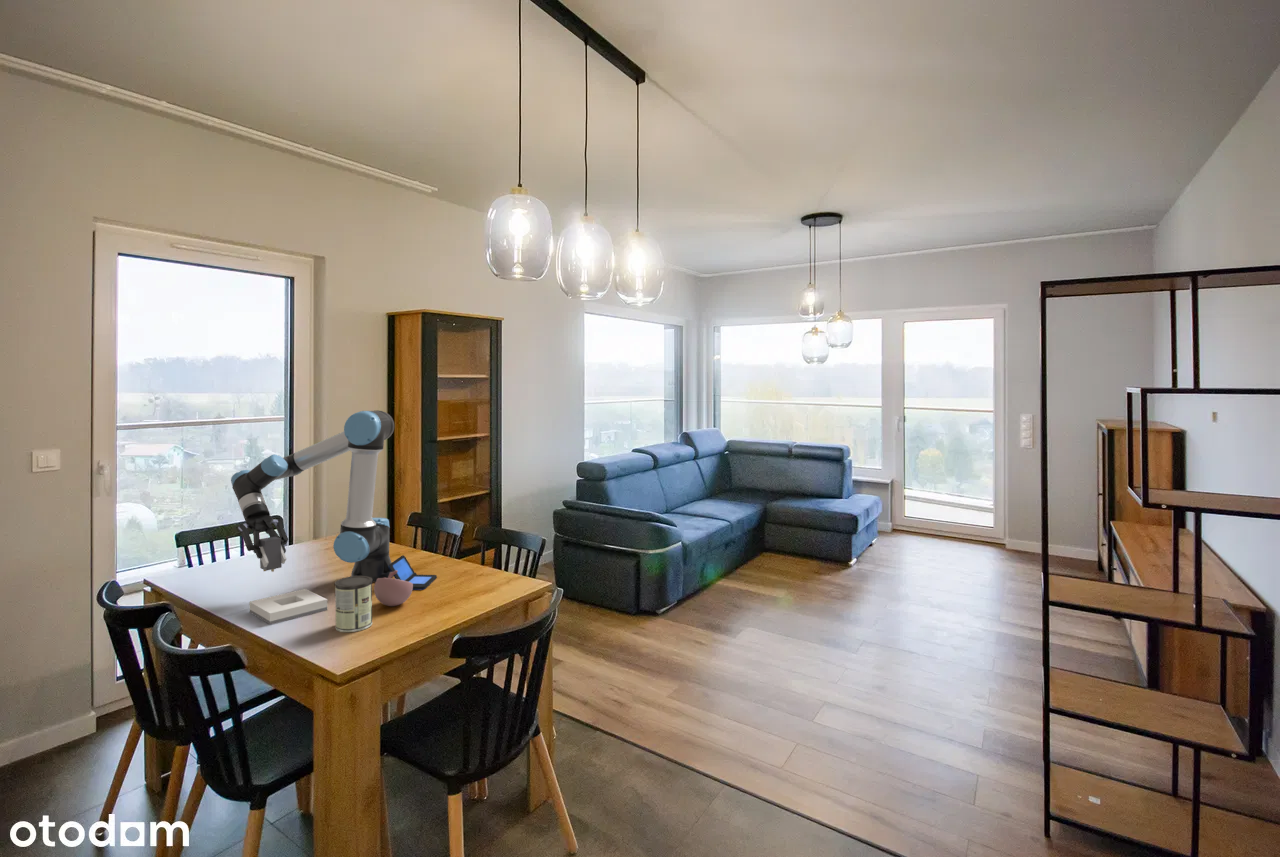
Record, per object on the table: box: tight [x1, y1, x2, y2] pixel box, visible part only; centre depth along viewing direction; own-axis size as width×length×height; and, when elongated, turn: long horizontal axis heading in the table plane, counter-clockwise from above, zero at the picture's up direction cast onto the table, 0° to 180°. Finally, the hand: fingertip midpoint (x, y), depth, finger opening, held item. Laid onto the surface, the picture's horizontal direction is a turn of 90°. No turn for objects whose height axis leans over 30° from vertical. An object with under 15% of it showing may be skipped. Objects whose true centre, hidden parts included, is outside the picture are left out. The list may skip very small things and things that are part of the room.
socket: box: [249, 588, 328, 626], centre depth 195 cm, size 17×16×4 cm
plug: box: [259, 536, 283, 573], centre depth 205 cm, size 5×5×11 cm
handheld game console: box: [389, 555, 437, 591], centre depth 226 cm, size 16×13×9 cm
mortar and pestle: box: [373, 570, 413, 607], centre depth 202 cm, size 12×12×11 cm
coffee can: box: [334, 576, 373, 633], centre depth 183 cm, size 10×10×14 cm
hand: (275, 563), depth 203 cm, fingers closed on plug, 5 cm apart
